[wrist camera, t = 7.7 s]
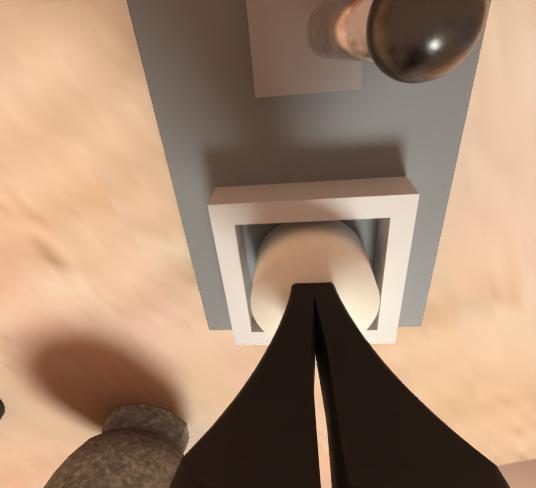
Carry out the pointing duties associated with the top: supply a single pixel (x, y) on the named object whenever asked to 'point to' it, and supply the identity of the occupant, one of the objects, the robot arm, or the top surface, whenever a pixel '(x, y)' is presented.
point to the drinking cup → (1, 409)
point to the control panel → (296, 149)
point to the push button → (312, 270)
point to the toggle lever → (398, 34)
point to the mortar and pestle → (127, 452)
